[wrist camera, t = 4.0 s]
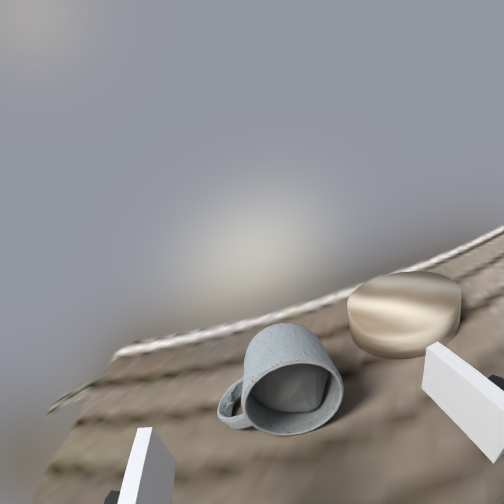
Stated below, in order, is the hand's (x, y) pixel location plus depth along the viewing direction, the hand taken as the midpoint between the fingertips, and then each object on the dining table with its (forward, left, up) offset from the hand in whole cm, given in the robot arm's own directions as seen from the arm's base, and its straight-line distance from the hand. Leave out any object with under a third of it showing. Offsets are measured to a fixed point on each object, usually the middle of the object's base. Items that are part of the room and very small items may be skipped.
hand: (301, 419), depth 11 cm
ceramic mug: (-4, -9, -9) cm, 14 cm away
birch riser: (-22, -8, -9) cm, 25 cm away
